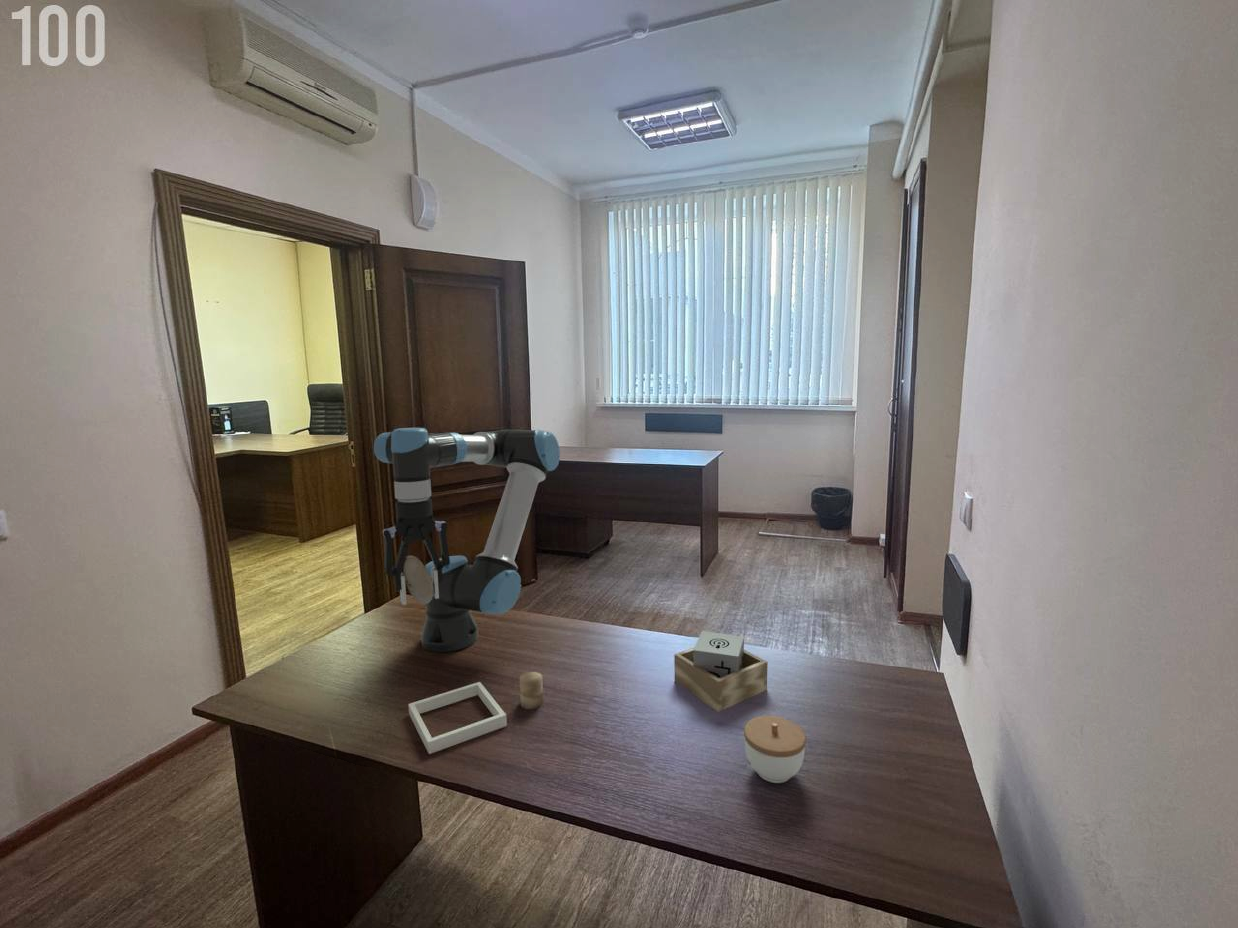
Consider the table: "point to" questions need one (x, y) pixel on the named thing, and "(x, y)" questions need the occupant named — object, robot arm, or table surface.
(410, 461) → the robot arm
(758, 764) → the lidded jar
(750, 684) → the oak crate
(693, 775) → the table surface
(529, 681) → the short oak dowel
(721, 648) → the icon cube
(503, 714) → the white rectangular frame
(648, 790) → the table surface
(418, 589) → the stone
